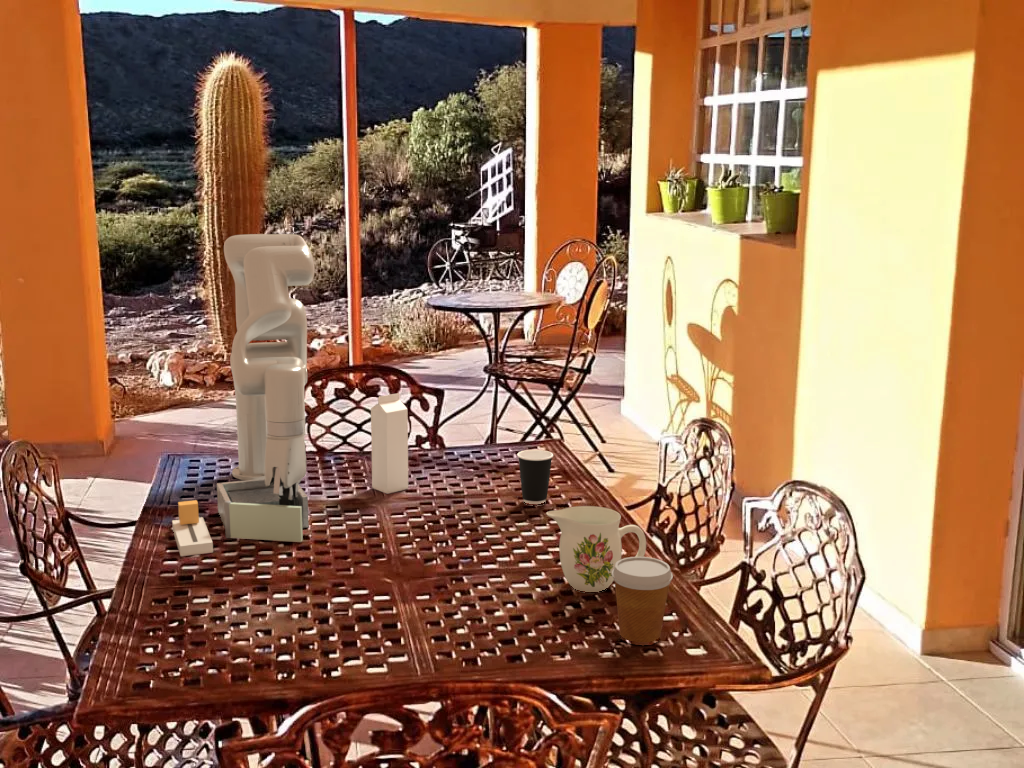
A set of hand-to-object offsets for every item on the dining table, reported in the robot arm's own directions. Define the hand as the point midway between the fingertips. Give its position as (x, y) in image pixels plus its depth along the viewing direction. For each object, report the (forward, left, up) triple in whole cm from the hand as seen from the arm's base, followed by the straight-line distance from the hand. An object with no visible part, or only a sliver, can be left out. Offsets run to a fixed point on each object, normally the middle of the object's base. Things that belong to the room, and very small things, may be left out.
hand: (288, 516), depth 216 cm
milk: (-24, +28, -4) cm, 37 cm away
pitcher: (+45, +46, -4) cm, 64 cm away
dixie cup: (-3, +55, -4) cm, 55 cm away
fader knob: (-9, -18, -2) cm, 21 cm away
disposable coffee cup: (+67, +43, -4) cm, 79 cm away
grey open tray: (-12, -3, -4) cm, 14 cm away
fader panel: (-4, -18, -4) cm, 19 cm away
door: (0, -5, -4) cm, 6 cm away
